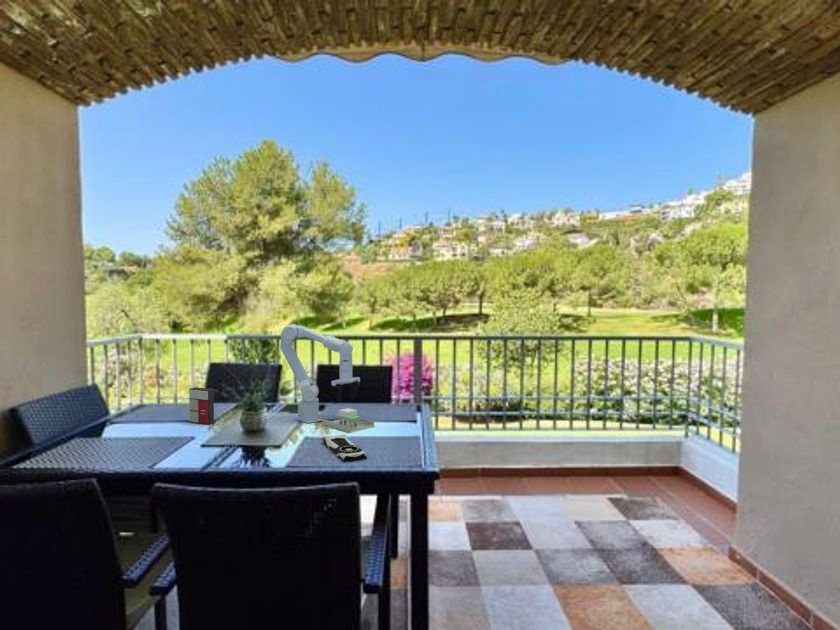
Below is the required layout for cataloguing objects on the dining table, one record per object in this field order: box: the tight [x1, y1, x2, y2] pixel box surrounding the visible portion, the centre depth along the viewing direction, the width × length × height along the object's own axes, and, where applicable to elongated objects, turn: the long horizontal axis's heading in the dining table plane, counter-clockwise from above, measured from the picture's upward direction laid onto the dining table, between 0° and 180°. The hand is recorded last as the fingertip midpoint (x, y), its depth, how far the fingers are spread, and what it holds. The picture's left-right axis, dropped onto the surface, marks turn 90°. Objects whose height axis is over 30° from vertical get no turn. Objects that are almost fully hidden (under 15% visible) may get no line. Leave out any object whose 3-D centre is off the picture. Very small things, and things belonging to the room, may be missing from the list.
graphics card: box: [320, 434, 368, 463], centre depth 211 cm, size 10×3×25 cm
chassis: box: [321, 417, 375, 434], centre depth 246 cm, size 18×14×3 cm
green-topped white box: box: [335, 407, 361, 421], centre depth 246 cm, size 10×5×4 cm, turn 46°
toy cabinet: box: [188, 386, 216, 425], centre depth 250 cm, size 11×4×15 cm, turn 68°
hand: (345, 399), depth 255 cm, fingers open, 7 cm apart
